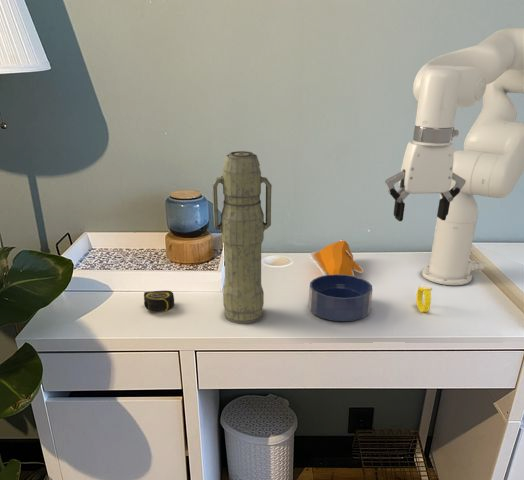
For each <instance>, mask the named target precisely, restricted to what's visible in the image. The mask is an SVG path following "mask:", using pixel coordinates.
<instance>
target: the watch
mask: <svg viewBox="0 0 524 480" xmlns="http://www.w3.org/2000/svg"><path fill="white" fill-rule="evenodd" d="M432 290H433V286H432V285H431V284H430V283H429V284H428V283H421V284H419V285H418V288H417V290H416V307H417V308H418V310H419V312H420V313H427V312H429V310H430V308H431V302H432V294H431V291H432ZM423 299H424V300H423Z"/></svg>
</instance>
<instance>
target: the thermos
mask: <svg viewBox="0 0 524 480" xmlns="http://www.w3.org/2000/svg"><path fill="white" fill-rule="evenodd" d="M260 165H261V164H260V161H259V158H258V155H257V154H255V153H254V152H252V151H246V150H243V151H242V150H240V151H239V150H237V151H231V152H229V153H227V154H226V155H225V159H224V162H223V166H222V175H221V176H219V177H216V178H215V180H214V181H213V183H212V185H211V187H212V191H211V192H212V213H213V225H214V229H215V230H216V231H219V232H220V233H221V241H222V243H223V252H224V253H223V254H224V256H223V257H224V285H223V292H222V301H223V303H222V304H223V307H224V308H223V309H224V318H225V319H226V320H227V321H229V322H231V323H234V324H242V325H243V324H244V325H245V324H252V323H256V322H258V321H260V320H261V319H262V318H263V315H264V311H263V308H264V303H265V300H264V297H265V295H264V288H263V286H262V244H263V242H264V236H265V235H264V234H265V233H264V232H265V230H267V229H269V228H270V227H271V226H272V187H273V185H272V183H271V182H270V181H269V179H268V178H267V177H265V176H262V171H261V167H260ZM262 183H263V184H265V214H264V212H263V209H262V200H261V193H262ZM219 184H221V185H222V194H223V195H224V198H223V199H224V200H223V201H222V202H223V207H222V210H221V214H220V222H219V213H218V212H219V206H218V186H219ZM264 220H265V221H264Z"/></svg>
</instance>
